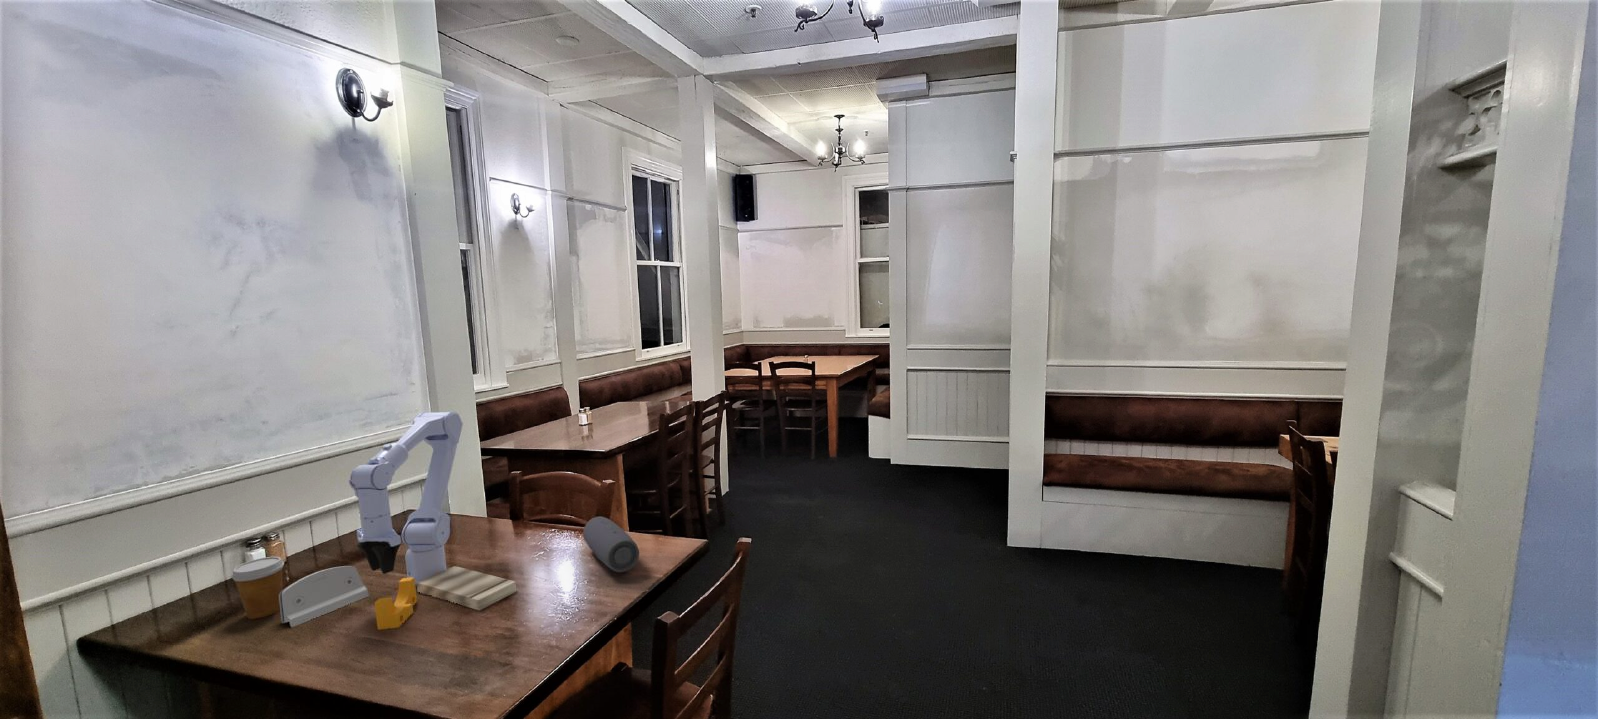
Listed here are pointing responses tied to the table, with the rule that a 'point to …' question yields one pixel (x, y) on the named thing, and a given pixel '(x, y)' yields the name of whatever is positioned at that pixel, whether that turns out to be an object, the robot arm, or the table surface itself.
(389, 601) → the pipe clamp
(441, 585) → the maple board
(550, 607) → the table surface
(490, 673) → the table surface
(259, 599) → the disposable coffee cup
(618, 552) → the bluetooth speaker
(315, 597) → the gray arched bracket
